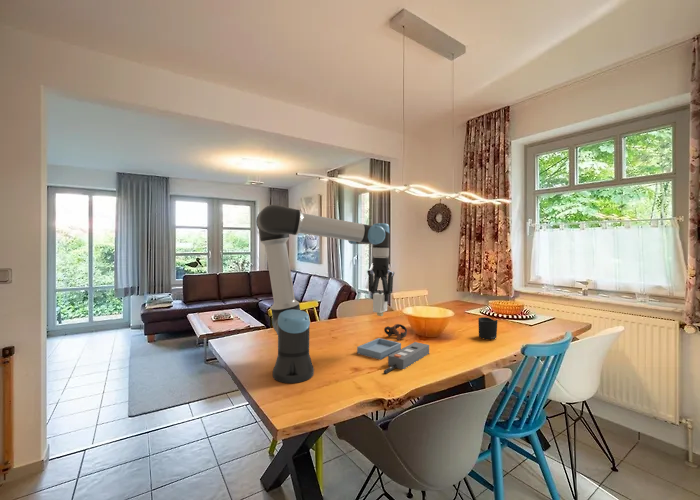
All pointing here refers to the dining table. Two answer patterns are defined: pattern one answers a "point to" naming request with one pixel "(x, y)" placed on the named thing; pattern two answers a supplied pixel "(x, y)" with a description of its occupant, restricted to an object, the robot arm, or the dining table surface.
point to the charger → (378, 303)
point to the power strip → (407, 356)
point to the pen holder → (487, 328)
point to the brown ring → (394, 332)
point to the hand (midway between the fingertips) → (380, 307)
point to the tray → (378, 348)
